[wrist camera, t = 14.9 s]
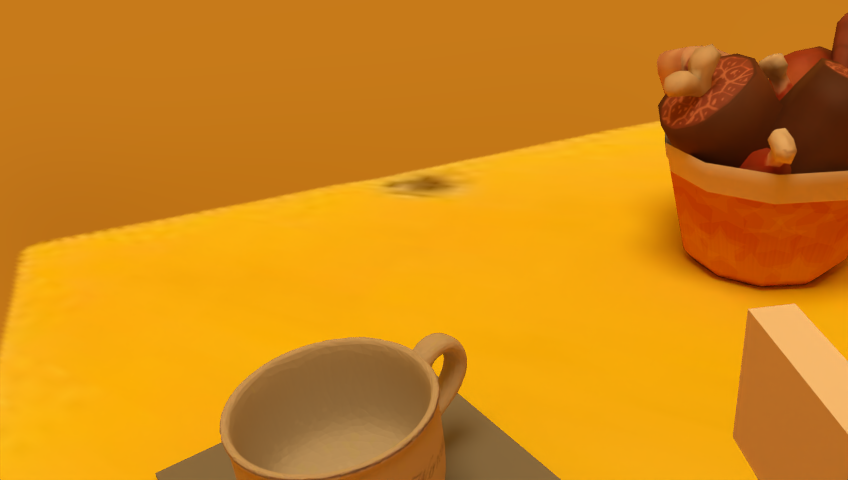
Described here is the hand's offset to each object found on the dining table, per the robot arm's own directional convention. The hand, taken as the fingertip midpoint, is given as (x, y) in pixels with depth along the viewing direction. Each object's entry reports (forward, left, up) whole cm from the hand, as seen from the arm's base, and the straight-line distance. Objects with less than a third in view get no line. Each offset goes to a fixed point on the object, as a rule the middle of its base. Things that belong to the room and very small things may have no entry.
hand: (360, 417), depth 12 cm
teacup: (-8, -18, -23) cm, 30 cm away
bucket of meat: (-47, -21, -23) cm, 56 cm away
